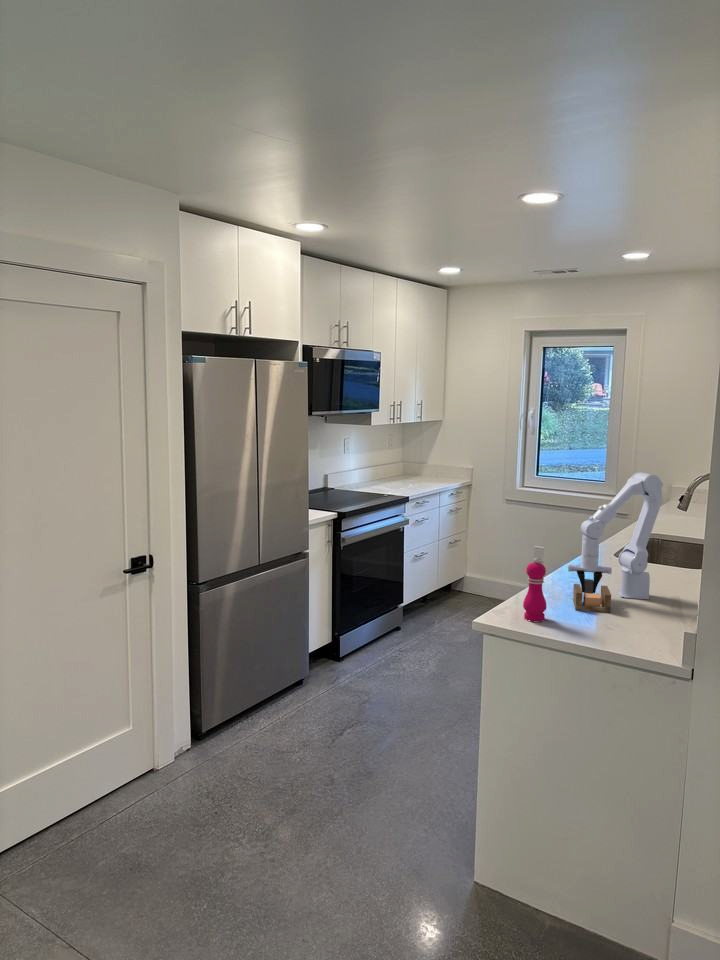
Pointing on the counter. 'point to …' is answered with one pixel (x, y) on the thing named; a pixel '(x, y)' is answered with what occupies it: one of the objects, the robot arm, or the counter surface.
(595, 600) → the grey and tan dumbbell
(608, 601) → the brown wooden u-shaped piece
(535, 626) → the counter surface
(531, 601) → the pepper mill
